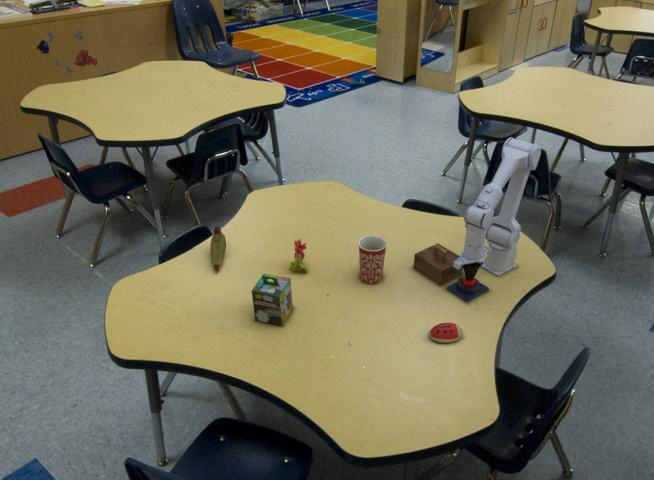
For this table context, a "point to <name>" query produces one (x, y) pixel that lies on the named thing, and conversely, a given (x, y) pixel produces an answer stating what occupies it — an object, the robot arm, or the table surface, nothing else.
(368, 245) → the mug
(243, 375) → the table surface
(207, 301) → the table surface
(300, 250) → the bird rattle
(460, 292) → the button block
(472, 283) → the buzzer button
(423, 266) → the brown box
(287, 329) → the table surface
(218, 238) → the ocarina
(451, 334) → the watermelon slice
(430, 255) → the box lid
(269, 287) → the chalk box
